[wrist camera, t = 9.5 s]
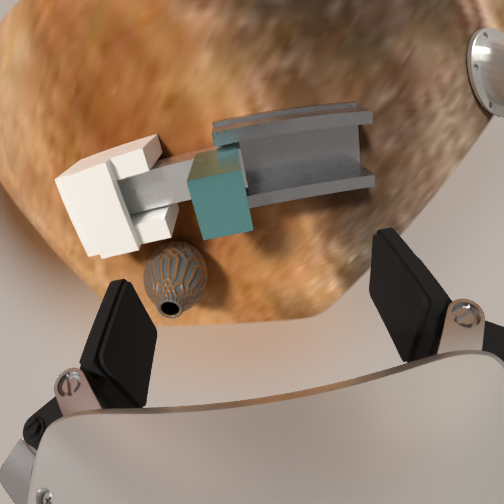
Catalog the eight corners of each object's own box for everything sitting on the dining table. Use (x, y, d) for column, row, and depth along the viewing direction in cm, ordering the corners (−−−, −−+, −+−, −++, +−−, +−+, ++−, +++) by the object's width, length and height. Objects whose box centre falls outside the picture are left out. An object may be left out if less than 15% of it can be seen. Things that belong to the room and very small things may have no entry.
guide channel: (352, 102, 26) (371, 107, 22) (356, 173, 31) (374, 189, 27) (212, 121, 27) (211, 129, 23) (229, 196, 31) (230, 215, 27)
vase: (143, 235, 33) (124, 284, 25) (203, 227, 33) (198, 277, 25) (158, 283, 36) (147, 335, 29) (212, 277, 37) (212, 331, 29)
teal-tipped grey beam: (237, 137, 26) (245, 168, 18) (246, 180, 29) (257, 229, 21) (101, 173, 27) (57, 219, 18) (115, 211, 29) (81, 267, 21)
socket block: (157, 133, 27) (139, 151, 21) (179, 208, 31) (169, 243, 25) (80, 159, 27) (49, 183, 21) (106, 227, 31) (85, 262, 26)
